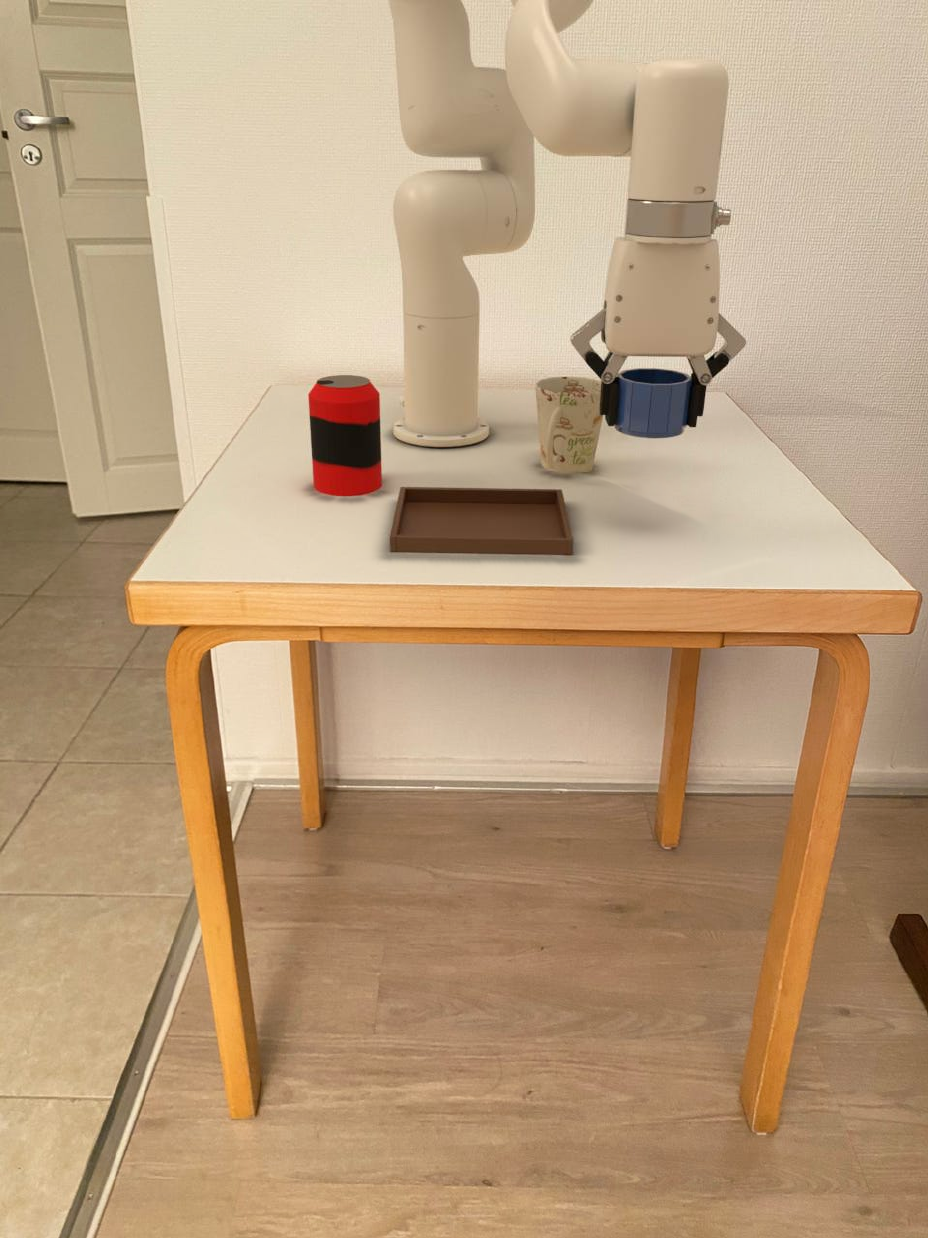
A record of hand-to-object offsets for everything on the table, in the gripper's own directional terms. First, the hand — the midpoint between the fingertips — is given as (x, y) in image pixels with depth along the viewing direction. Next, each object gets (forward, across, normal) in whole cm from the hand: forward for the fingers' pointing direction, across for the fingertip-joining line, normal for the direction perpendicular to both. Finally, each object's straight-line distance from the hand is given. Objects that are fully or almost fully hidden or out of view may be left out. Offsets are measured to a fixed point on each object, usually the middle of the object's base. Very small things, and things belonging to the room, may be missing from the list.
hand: (649, 421), depth 93 cm
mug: (+12, +6, -18) cm, 23 cm away
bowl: (+1, 0, 0) cm, 1 cm away
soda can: (+11, +31, -12) cm, 35 cm away
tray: (+11, +16, 0) cm, 20 cm away
